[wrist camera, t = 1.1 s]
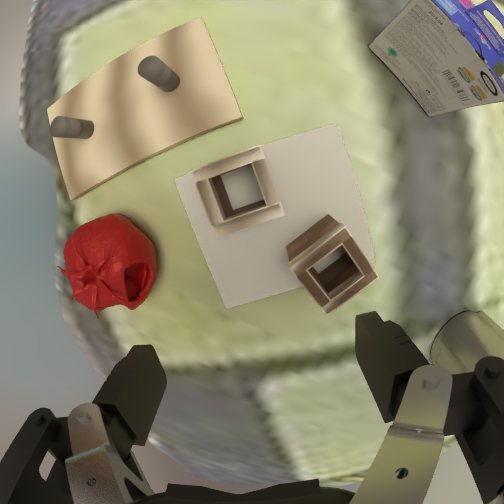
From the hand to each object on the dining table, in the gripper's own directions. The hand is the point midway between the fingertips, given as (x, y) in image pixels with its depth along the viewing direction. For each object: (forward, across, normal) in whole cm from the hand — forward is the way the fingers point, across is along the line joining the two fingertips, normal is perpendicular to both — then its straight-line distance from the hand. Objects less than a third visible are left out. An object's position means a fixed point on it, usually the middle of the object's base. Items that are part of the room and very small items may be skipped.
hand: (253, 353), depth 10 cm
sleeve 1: (+17, 0, -5) cm, 18 cm away
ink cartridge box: (+17, -20, -15) cm, 30 cm away
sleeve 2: (+17, -6, +2) cm, 18 cm away
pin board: (+18, +10, -16) cm, 26 cm away
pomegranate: (+18, +14, -1) cm, 23 cm away
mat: (+17, -2, -2) cm, 17 cm away
